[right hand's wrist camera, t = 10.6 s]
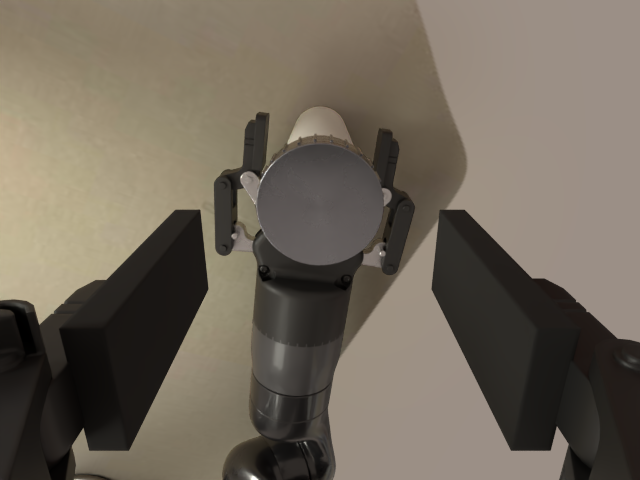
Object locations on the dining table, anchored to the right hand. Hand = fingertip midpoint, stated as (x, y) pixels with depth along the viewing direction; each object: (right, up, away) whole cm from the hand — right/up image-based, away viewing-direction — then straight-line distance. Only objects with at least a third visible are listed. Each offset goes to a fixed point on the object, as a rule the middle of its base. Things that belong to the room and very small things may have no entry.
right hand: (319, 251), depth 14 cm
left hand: (0, +8, +17) cm, 19 cm away
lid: (0, +2, +5) cm, 5 cm away
